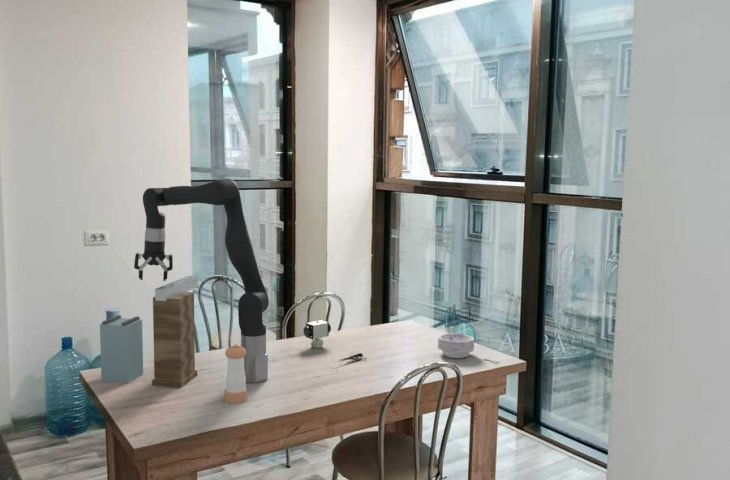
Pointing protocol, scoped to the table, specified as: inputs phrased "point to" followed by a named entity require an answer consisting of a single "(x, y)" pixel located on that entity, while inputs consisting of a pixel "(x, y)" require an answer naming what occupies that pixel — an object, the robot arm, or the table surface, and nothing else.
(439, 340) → the grey stone bowl
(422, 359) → the table surface
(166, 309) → the tall stand
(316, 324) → the pneumatic valve
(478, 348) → the table surface
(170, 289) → the steel bar
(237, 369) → the pepper shaker
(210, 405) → the table surface
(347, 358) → the hacksaw
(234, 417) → the table surface
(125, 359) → the blue grey angular block
